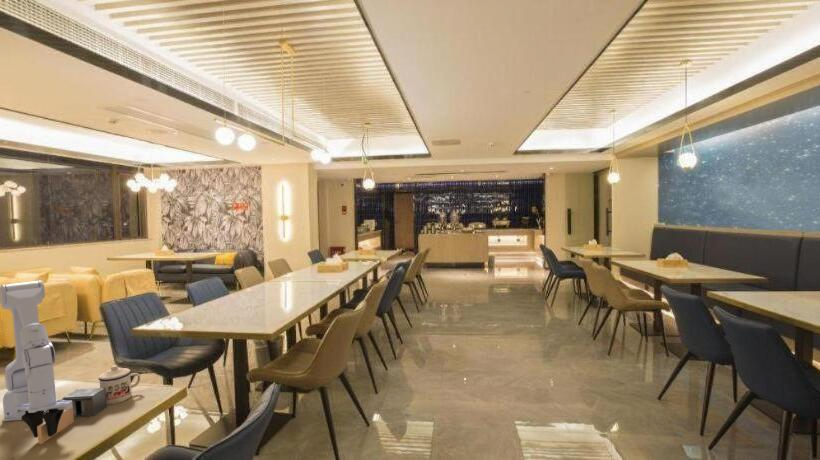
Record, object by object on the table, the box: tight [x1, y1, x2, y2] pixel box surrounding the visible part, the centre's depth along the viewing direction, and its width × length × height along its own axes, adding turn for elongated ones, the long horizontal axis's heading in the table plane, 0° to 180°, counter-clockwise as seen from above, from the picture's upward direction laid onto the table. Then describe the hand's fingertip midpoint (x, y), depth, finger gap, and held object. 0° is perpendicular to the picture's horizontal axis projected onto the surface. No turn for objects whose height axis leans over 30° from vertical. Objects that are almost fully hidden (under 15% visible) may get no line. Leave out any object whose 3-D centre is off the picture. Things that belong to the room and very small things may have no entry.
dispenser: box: [60, 387, 108, 418], centre depth 135 cm, size 9×7×7 cm
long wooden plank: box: [37, 407, 75, 445], centre depth 123 cm, size 1×12×5 cm, turn 3°
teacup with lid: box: [98, 364, 141, 406], centre depth 145 cm, size 12×9×12 cm
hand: (45, 435), depth 119 cm, fingers open, 3 cm apart
